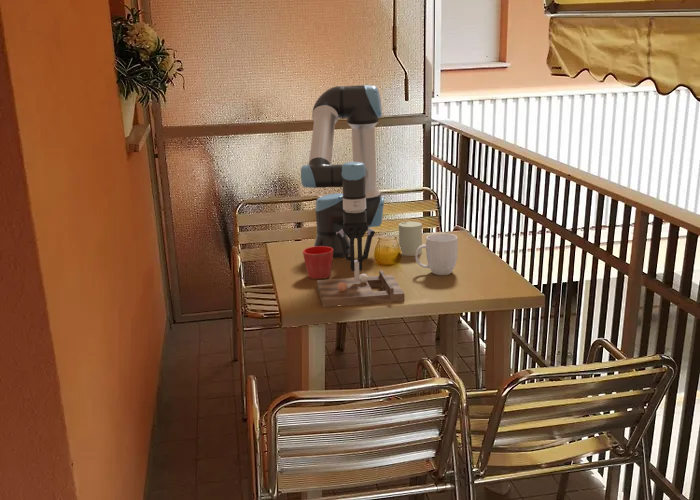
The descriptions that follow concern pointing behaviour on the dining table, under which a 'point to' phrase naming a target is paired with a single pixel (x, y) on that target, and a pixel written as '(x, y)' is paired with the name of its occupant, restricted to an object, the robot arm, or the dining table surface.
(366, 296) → the board
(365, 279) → the ball white
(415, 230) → the can
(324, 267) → the flower pot
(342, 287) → the ball terracotta
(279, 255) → the dining table surface
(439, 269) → the mug
